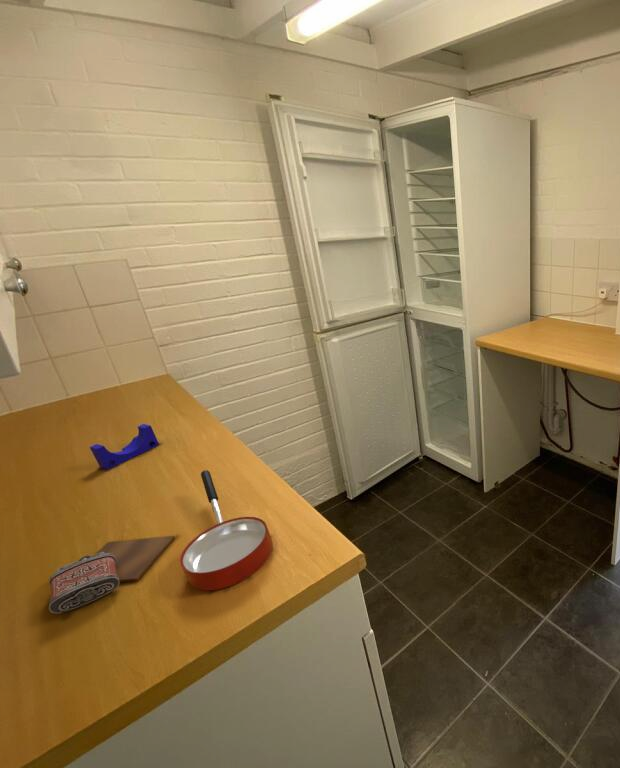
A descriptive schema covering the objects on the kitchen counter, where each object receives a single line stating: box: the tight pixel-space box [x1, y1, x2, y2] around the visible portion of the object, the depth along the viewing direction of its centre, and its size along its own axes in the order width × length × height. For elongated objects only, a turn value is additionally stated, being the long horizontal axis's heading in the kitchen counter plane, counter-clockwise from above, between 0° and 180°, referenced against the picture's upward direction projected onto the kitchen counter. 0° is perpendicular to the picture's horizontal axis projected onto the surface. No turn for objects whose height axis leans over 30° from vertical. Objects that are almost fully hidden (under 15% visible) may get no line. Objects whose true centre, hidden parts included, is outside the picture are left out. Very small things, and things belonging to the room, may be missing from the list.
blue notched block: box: [89, 423, 160, 471], centre depth 108 cm, size 12×4×6 cm, turn 159°
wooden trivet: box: [95, 535, 176, 584], centre depth 75 cm, size 12×10×1 cm
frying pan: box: [179, 469, 274, 591], centre depth 80 cm, size 32×13×6 cm, turn 46°
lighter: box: [48, 552, 120, 614], centre depth 70 cm, size 8×3×10 cm
